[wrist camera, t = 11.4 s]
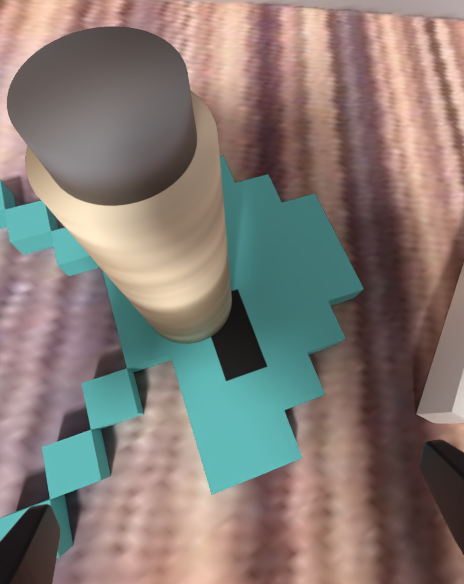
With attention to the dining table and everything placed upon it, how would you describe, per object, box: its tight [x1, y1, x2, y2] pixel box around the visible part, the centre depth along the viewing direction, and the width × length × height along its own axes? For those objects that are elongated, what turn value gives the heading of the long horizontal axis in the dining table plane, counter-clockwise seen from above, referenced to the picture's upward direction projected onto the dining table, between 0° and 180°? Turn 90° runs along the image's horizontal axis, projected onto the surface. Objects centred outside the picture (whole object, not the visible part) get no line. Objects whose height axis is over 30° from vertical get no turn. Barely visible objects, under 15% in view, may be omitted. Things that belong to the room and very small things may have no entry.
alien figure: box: [0, 156, 364, 558], centre depth 20 cm, size 20×2×20 cm
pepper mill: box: [7, 27, 232, 344], centre depth 13 cm, size 5×5×12 cm
